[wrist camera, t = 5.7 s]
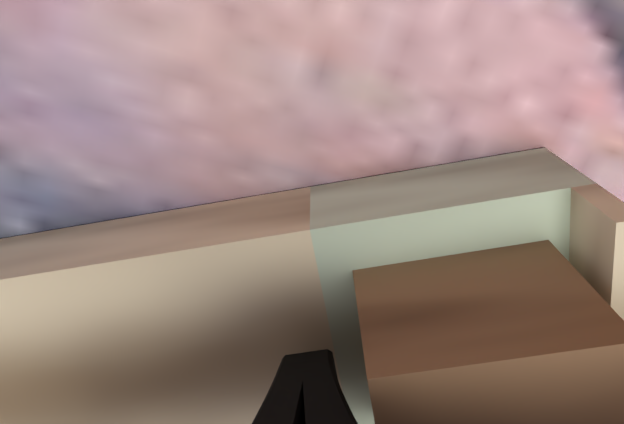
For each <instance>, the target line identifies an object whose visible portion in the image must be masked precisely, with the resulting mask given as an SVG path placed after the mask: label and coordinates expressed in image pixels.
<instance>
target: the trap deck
mask: <svg viewBox="0 0 624 424" xmlns="http://www.w3.org/2000/svg"><path fill="white" fill-rule="evenodd" d="M544 240H549V241H550V242H551V243H552V244H553V245H554V246H555V247H556V248H557V249H558V250H559V252H560V253H561V254H562V255H563V256H564V257H565V258H566V259H567V260H568V261H569V262H570V263H571V264H572V266H573V267H574V268H575V269H576V270H577V271H578V272H579V273H580V274H581V275H582V276H583V277H584V278H585V279H586V281H587V282H588V283H589V284H590V285H591V286H592V287H593V288H594V289H595V290H596V291H597V292H598V293H599V295H600V296H601V297H602V298H603V299H604V300H605V301H606V302H607V303H608V304H609V305H610V306H611V307H612V309H613V310H614V311H615V312H616V313H617V314H618V315H619V316H620V317H621V318H622V319H623V320H624V202H623V201H621V200H620V199H618V198H617V197H615V196H614V195H612V194H611V193H610V192H608V191H607V190H605V189H604V188H602V187H601V186H599V185H598V184H597V183H595V182H594V181H592V180H591V179H589V178H588V177H586V176H585V175H584V174H582V173H581V172H579V171H578V170H576V169H575V168H573V167H572V166H571V165H569V164H568V163H566V162H565V161H563V160H562V159H561V158H559V157H558V156H556V155H555V154H553V153H552V152H550V151H549V150H548V149H546V148H545V147H544V148H538V149H532V150H526V151H520V152H514V153H508V154H502V155H496V156H491V157H485V158H479V159H473V160H467V161H461V162H455V163H449V164H443V165H437V166H431V167H425V168H419V169H413V170H407V171H401V172H395V173H389V174H383V175H377V176H371V177H365V178H359V179H354V180H348V181H342V182H336V183H330V184H324V185H318V186H312V187H306V188H300V189H294V190H288V191H282V192H276V193H270V194H264V195H258V196H252V197H246V198H240V199H234V200H228V201H222V202H217V203H211V204H205V205H199V206H193V207H187V208H181V209H175V210H169V211H163V212H157V213H151V214H145V215H139V216H133V217H127V218H121V219H115V220H109V221H103V222H97V223H91V224H85V225H79V226H74V227H68V228H62V229H56V230H50V231H44V232H38V233H32V234H26V235H20V236H14V237H8V238H2V239H0V424H252V422H253V420H254V418H255V416H256V415H257V413H258V411H259V409H260V407H261V405H262V403H263V401H264V399H265V397H266V395H267V393H268V391H269V389H270V386H271V384H272V382H273V380H274V377H275V375H276V373H277V370H278V368H279V365H280V363H281V360H282V358H283V357H284V356H285V355H289V354H296V353H303V352H310V351H317V350H324V349H328V350H330V351H332V353H333V358H334V362H335V367H336V372H337V377H338V381H339V384H340V387H341V389H342V392H343V394H344V396H345V398H346V401H347V403H348V405H349V407H350V409H351V411H352V413H353V415H354V417H355V419H356V421H357V423H358V424H375V421H374V416H373V410H372V404H371V399H370V393H369V387H368V382H367V375H366V368H365V360H364V353H363V346H362V338H361V331H360V324H359V316H358V309H357V301H356V294H355V287H354V279H353V272H352V270H358V269H364V268H370V267H377V266H383V265H390V264H396V263H402V262H409V261H415V260H422V259H428V258H435V257H441V256H447V255H454V254H460V253H467V252H473V251H480V250H486V249H492V248H499V247H505V246H512V245H518V244H524V243H531V242H537V241H544Z"/></svg>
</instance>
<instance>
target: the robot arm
mask: <svg viewBox="0 0 624 424" xmlns="http://www.w3.org/2000/svg"><path fill="white" fill-rule="evenodd" d="M252 424H358V423H357V421H356V419H355V417H354V415H353V413H352V411H351V409H350V407H349V405H348V403H347V401H346V398H345V396H344V394H343V392H342V389H341V387H340V384H339V381H338V377H337V372H336V367H335V362H334V358H333V353H332V351H330V350H328V349H324V350H317V351H310V352H303V353H296V354H289V355H285V356H284V357H283V358H282V360H281V363H280V365H279V368H278V370H277V373H276V375H275V377H274V380H273V382H272V384H271V386H270V389H269V391H268V393H267V395H266V397H265V399H264V401H263V403H262V405H261V407H260V409H259V411H258V413H257V415H256V416H255V418H254V420H253V422H252Z"/></svg>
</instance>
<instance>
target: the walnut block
mask: <svg viewBox="0 0 624 424" xmlns="http://www.w3.org/2000/svg"><path fill="white" fill-rule="evenodd" d="M352 272H353V279H354V287H355V294H356V301H357V309H358V316H359V324H360V331H361V338H362V346H363V353H364V360H365V368H366V375H367V382H368V387H369V393H370V399H371V404H372V410H373V416H374V421H375V424H624V320H623V319H622V318H621V317H620V316H619V315H618V314H617V313H616V312H615V311H614V310H613V309H612V307H611V306H610V305H609V304H608V303H607V302H606V301H605V300H604V299H603V298H602V297H601V296H600V295H599V293H598V292H597V291H596V290H595V289H594V288H593V287H592V286H591V285H590V284H589V283H588V282H587V281H586V279H585V278H584V277H583V276H582V275H581V274H580V273H579V272H578V271H577V270H576V269H575V268H574V267H573V266H572V264H571V263H570V262H569V261H568V260H567V259H566V258H565V257H564V256H563V255H562V254H561V253H560V252H559V250H558V249H557V248H556V247H555V246H554V245H553V244H552V243H551V242H550V241H549V240H544V241H537V242H531V243H524V244H518V245H512V246H505V247H499V248H492V249H486V250H480V251H473V252H467V253H460V254H454V255H447V256H441V257H435V258H428V259H422V260H415V261H409V262H402V263H396V264H390V265H383V266H377V267H370V268H364V269H358V270H352Z"/></svg>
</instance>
